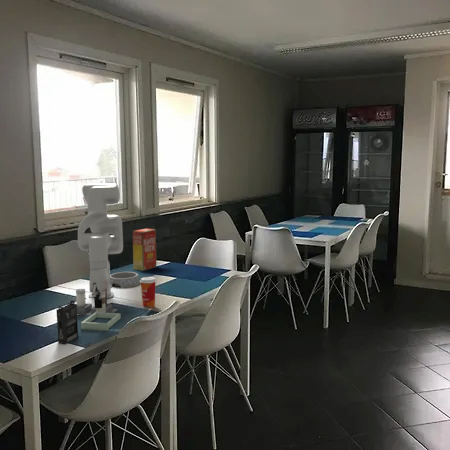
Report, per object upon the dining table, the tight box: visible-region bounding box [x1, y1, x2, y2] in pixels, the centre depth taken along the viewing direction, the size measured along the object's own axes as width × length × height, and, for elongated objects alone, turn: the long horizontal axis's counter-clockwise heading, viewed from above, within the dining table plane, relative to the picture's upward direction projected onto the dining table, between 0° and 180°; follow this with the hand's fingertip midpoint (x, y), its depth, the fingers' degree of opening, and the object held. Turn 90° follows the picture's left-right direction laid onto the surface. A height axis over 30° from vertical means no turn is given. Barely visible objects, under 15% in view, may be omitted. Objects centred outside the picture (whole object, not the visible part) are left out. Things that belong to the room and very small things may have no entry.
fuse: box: [75, 288, 87, 308], centre depth 234 cm, size 4×4×10 cm
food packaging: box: [132, 227, 157, 272], centre depth 324 cm, size 13×9×25 cm
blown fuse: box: [96, 290, 106, 315], centre depth 217 cm, size 4×4×10 cm
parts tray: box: [80, 312, 122, 332], centre depth 218 cm, size 14×12×3 cm
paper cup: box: [140, 276, 157, 309], centre depth 243 cm, size 8×8×14 cm
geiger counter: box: [56, 300, 79, 346], centre depth 200 cm, size 10×4×15 cm, turn 163°
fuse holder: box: [77, 303, 118, 316], centre depth 234 cm, size 10×22×4 cm, turn 80°
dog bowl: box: [110, 271, 141, 289], centre depth 287 cm, size 17×18×5 cm
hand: (100, 305), depth 217 cm, fingers closed on blown fuse, 4 cm apart
